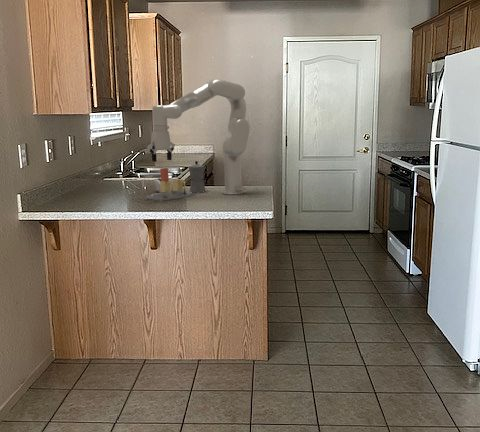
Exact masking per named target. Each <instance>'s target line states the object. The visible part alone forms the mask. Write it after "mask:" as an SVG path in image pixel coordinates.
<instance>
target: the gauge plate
mask: <svg viewBox="0 0 480 432" xmlns="http://www.w3.org/2000/svg"><path fill="white" fill-rule="evenodd" d="M172 187H173V195H171V191H170V192H161V193H160V192H156V193H150V195H146V196H145V199H148V200H151V201H152V200H153V201H159V202H162V201H163V202H165V201H168V200H169V201H170V200H176V199H181V198H188V197H194V196H196V195H197V193H191V192H190V191H186V180H185V179H180V178H176V179H173V180H172Z"/></svg>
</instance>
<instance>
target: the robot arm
mask: <svg viewBox="0 0 480 432" xmlns="http://www.w3.org/2000/svg"><path fill="white" fill-rule="evenodd" d="M245 95H246V90H245V88H244V86H243V85H241V84H238V83H234V82H232V81H231V82H230V81H226V80H223V79H220V78H215V79H212V80H209V81H207V82H206V83H204V84H202V85H200V86H199V87H197V88H195V89H193V90H192V91H190V92H188V93H186V94H185V95H184V96H181V97H180V98H178V99H176V100H174V101H173V102H171V103H169V104H168V105H165V104H163V105H162V104H160V105H159V104H157V105H153V106H152V109H151V110H152V125H153V127H152V128H153V129H152V130H153V131H151V137H150V140H151V141H150V144H148V145H147V146H146V149H147V150H148V152H149V153H150V155H151V161H152V162H153V163H154V162H157V152H158V151H166V160H167V161H172V158H173V157H172V154H173V151H174V150H175V146H176V145H175V143H173V142H171V136H170V132H169V129H170V126H169V125H168V119H170V120H171V119H173V120H176V119H179V118H180V117H181V116H182V115H183V113H185V112H186V111H188V110H191V109H194V108H197V107H199V106H201V105H203V104H204V103H206V102H208V101H209V100H212V99H213V98H215V97H216V96H220V97H223V98H226V100H228V102H229V104H230V114H229V119H228V124H227V130H228V132H229V134H231V136H229V137H227V138H226V139H225V140H224V141H223V142H222V154H223V163H224V164H223V167H224V190H222V191H221V192H222V194H224V195H242V194H244V193H245V191H246V189H247V188H246V187H244V185H243V184H242V159H241V155H243V154H244V153H245V151H246V148H247V144H248V139H249V135H250V124H249V122H248V120H247V119H246V114H247V103H246V100H245V98H244V97H245Z"/></svg>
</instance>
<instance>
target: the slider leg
mask: <svg viewBox="0 0 480 432" xmlns="http://www.w3.org/2000/svg"><path fill="white" fill-rule="evenodd" d="M159 170H160V178H161V181H160V187H161V192H170V190H171V195H173V191H174V189H173V180H172V181H171V180H169V178H170V177H169V168H168V167H161V168H160V169H159Z"/></svg>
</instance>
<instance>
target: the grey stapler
mask: <svg viewBox="0 0 480 432" xmlns="http://www.w3.org/2000/svg"><path fill="white" fill-rule="evenodd" d="M160 181H161V177H158V178H156V179H154V181H153V182H154V185H155V187H156V190H157V191H158V193H161V187H160ZM170 191H171V189H170Z"/></svg>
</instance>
